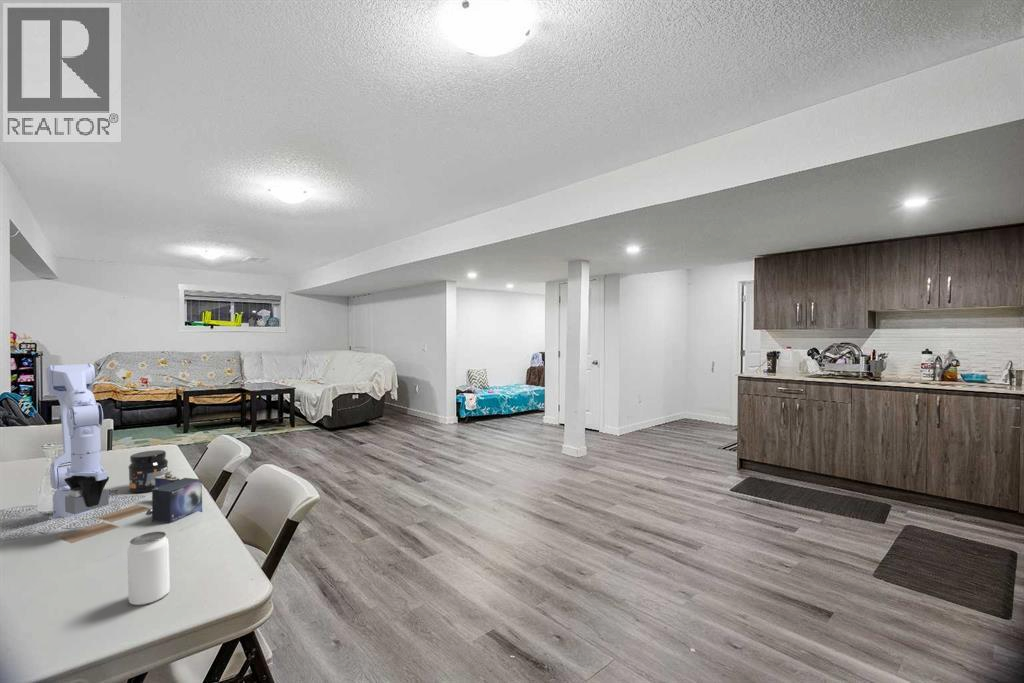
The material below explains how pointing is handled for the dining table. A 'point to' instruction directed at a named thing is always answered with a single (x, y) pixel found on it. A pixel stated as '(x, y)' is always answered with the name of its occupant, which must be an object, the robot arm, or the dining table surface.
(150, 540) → the can
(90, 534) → the stand
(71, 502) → the block
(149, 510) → the loose bolt
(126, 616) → the dining table surface
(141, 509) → the stand
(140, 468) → the supplement container
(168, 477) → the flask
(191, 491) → the small box
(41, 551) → the dining table surface
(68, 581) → the dining table surface
